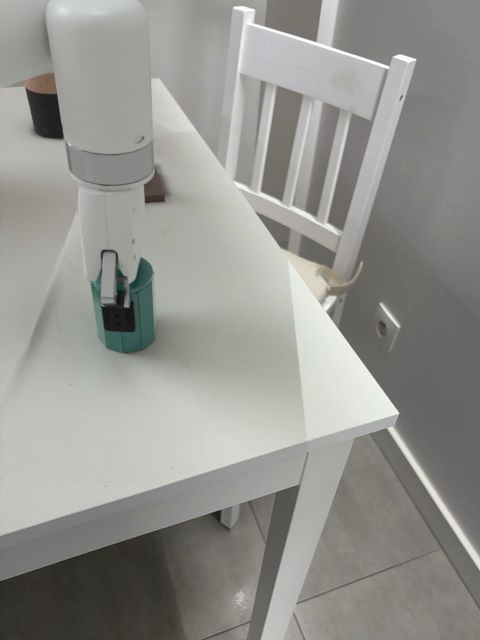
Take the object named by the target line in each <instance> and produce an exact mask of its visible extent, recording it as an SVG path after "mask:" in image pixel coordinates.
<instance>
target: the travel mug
mask: <svg viewBox="0 0 480 640" xmlns="http://www.w3.org/2000/svg"><path fill="white" fill-rule="evenodd" d="M23 85H24V90H25V93H26V97H27V102H28V106H29V111H30V115H31V120H32V124H33V127H34V132H35V134H37V135H38V136H39V137H41V138H46V139H52V140H58V139H64V134H63V129H62V123H61V116H60V109H59V102H58V95H57V89H56V82H55V76H54V72H53V73H48V74H42V75H39V76H36V77H33V78H30V79H26V80H23Z"/></svg>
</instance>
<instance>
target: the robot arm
mask: <svg viewBox="0 0 480 640" xmlns="http://www.w3.org/2000/svg"><path fill="white" fill-rule="evenodd" d="M150 41H151V39H150V25H149V17H148V14H147V12H146V9H145V8H144V6H143V5H142V3H141V2H140V1H139V0H0V89H1V88H4V87H7V86H10V85H13V84H17V83H20V82H24V80H26V79H30V78H33V77H36V76H39V75H42V74H48V73H53V72H54V76H55V82H56V89H57V95H58V102H59V109H60V116H61V123H62V129H63V134H64V138H63V142H64V147H65V154H66V160H67V166H68V173H69V175H70V178H71V179H72V180H73V181H74V182H76V183H77V184H78V186H77V188H78V189H77V209H78V211H77V212H78V225H79V227H78V228H79V236H80V247H81V257H82V267H83V274H84V275H83V277H84V278H85V280H86V281H87V282H90V283H91V281H95V282H96V281H97V278H98V276H99V273H100V275H101V278H100V279H101V294H100V300H101V306H102V314H103V321H104V328H105V330H106V331H114V332H135V328H136V324H135V311H134V301H130V300H131V282H133V281H134V280H135V278H136V275H137V271H138V266H139V262H140V257H142V251H143V247H144V242H145V235H146V202H145V197H144V184H146V183H147V182H148V181H149V180H151V179H152V177H153V176H154V172H155V170H154V167H155V149H154V148H155V147H154V125H153V124H154V123H153V122H154V119H153V96H152V72H151V70H152V68H151V44H150V43H151V42H150ZM117 270H121V272H122V273H123V275H117ZM117 283H124V284H123V287H124V295H122V294H117V289H116V286H117Z"/></svg>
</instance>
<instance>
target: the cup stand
mask: <svg viewBox="0 0 480 640" xmlns="http://www.w3.org/2000/svg"><path fill="white" fill-rule="evenodd" d="M154 170H155V172H154V176H153V177H152V179H151V180H149V181H148V182H147V183H146V184H144V197H145V203H161V202H165V201H166V195H165V192H164V189H163V185H162V182H161V179H160V176H159V173H158V171H157V168H156V166H154Z"/></svg>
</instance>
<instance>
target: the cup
mask: <svg viewBox="0 0 480 640" xmlns="http://www.w3.org/2000/svg"><path fill="white" fill-rule="evenodd" d="M117 275H123V273H122V272H121V270H117ZM100 278H101V275H100V273H99V276H98V278H97V281H96V282H95V281H91V282H90V289H91V295H92V296H91V297H92V302H93V309H94V314H95V315H94V316H95V322H96V329H97V335H98V339H99V340H100V341H101V343H102V344H103V345H104V346H105V348H107V349H109V350H111V351H115V352H118V353H122V354H128V353H132V352H133V353H134V352H139V351H143V350H144V349H146V348H147V347H149V345H150V344H152V343H153V342H154V341H155V340H156V334H157V310H156V309H157V308H156V306H157V305H156V286H155V272H154V269H153V266H152V264H151V263H150V262H149V261H148V260H147V259H145V257H142V256H141V257H140V262H139V266H138V271H137V275H136V278H135V280H134V281H133V282H131V300H130V301H134V311H135V324H136V328H135V332H114V331H106V330H105V328H104V321H103V314H102V306H101V300H100V294H101V279H100ZM123 284H124V283H117V286H116V289H117V294H122V295H124V287H123Z"/></svg>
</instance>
